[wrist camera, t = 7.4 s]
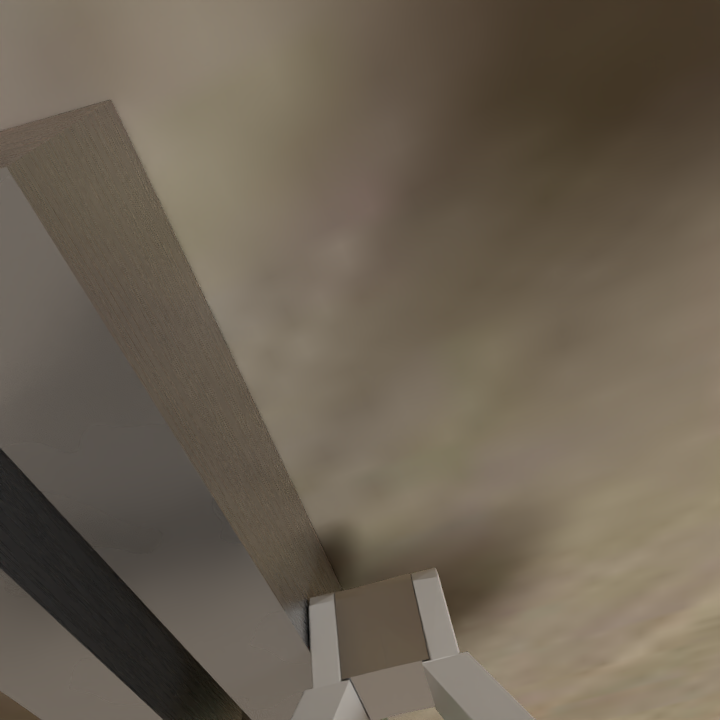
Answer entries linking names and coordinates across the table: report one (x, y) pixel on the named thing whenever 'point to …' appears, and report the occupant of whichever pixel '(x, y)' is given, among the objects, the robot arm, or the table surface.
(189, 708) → the tongs base
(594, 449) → the table surface
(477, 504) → the table surface
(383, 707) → the robot arm
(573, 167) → the table surface
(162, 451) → the bar
